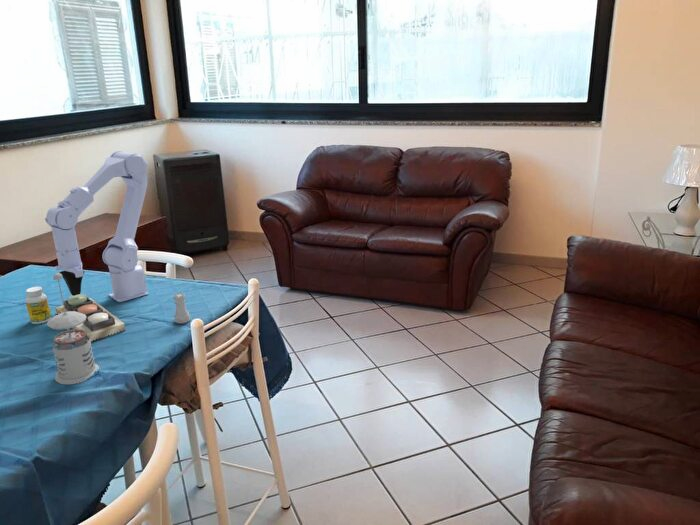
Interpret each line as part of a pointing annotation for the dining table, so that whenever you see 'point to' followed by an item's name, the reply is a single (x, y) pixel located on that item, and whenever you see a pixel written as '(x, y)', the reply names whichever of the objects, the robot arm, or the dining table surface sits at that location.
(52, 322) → the french press
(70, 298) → the button sage
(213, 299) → the dining table surface
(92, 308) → the button terracotta
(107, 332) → the button board
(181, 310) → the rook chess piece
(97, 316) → the button cream
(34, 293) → the supplement bottle
